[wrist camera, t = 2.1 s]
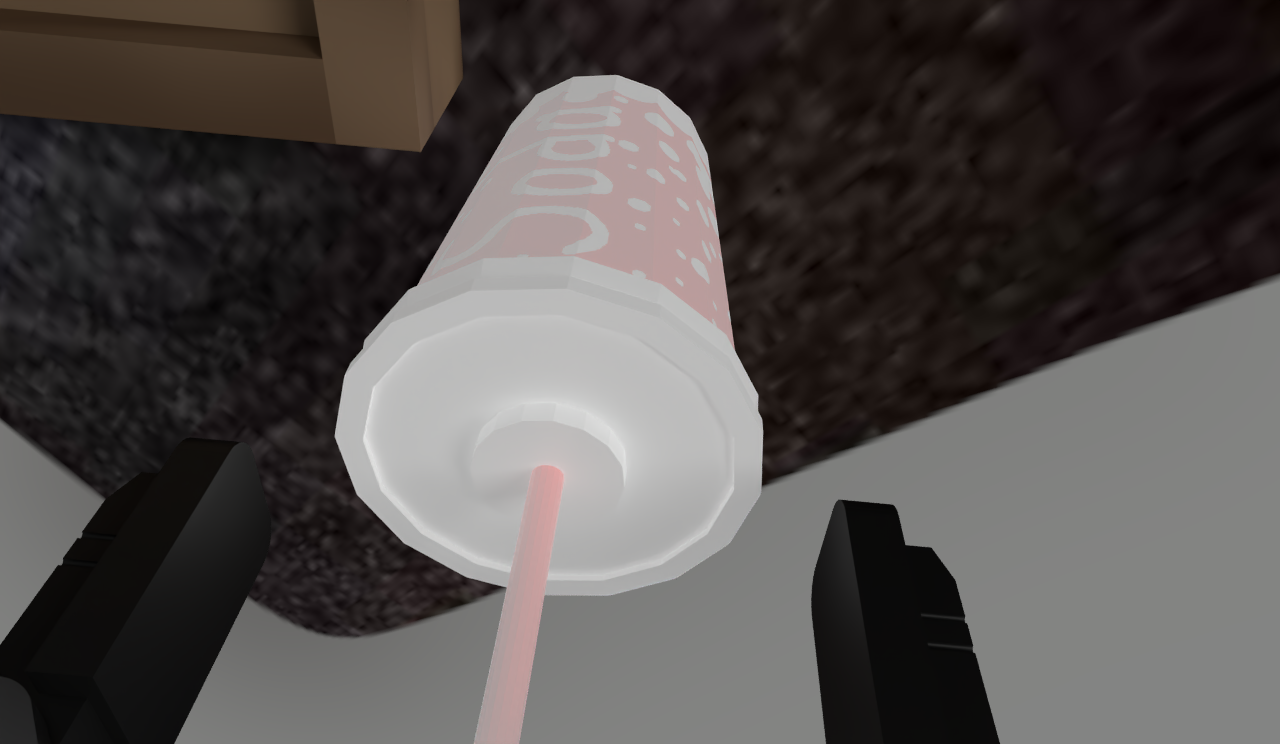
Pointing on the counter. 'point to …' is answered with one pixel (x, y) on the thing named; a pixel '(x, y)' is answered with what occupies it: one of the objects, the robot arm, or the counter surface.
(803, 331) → the counter surface
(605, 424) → the beverage cup
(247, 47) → the base plinth
